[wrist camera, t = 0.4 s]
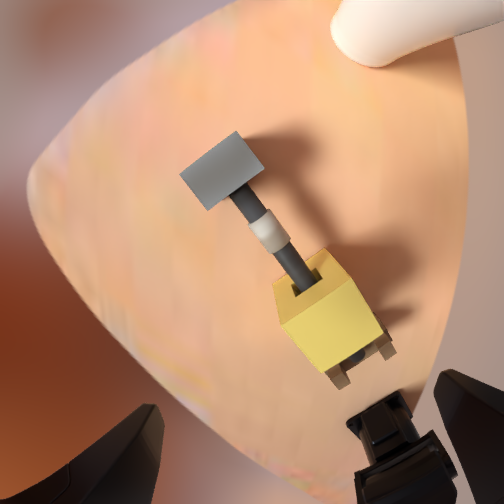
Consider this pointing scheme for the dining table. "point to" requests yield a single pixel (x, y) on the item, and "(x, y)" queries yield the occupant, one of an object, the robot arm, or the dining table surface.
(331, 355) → the sleeve
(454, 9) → the drinking glass
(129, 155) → the dining table surface
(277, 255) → the cord fixture
